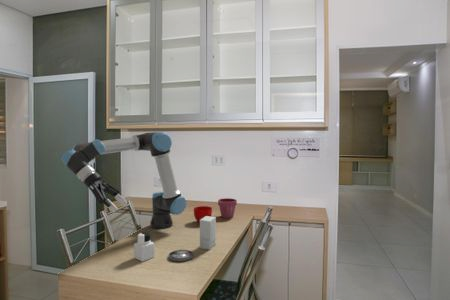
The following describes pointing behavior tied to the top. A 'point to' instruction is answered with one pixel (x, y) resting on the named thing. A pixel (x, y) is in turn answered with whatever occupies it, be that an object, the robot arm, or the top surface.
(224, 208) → the plant pot
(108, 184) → the robot arm
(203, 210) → the ceramic cup
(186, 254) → the pad
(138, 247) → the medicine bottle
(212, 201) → the top surface
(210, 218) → the skincare box
